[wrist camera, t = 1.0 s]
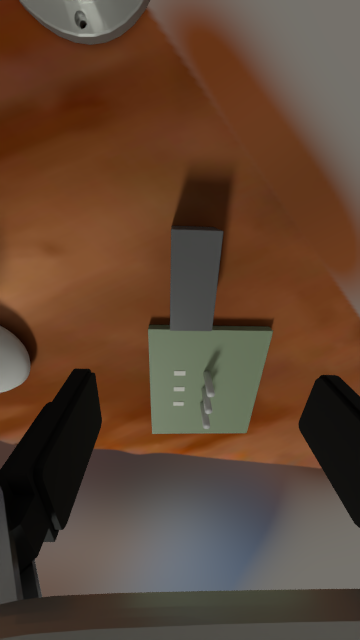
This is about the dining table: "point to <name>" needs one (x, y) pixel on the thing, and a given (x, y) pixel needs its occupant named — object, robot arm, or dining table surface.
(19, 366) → the flower in vase
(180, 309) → the plug housing
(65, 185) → the dining table surface
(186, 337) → the board
